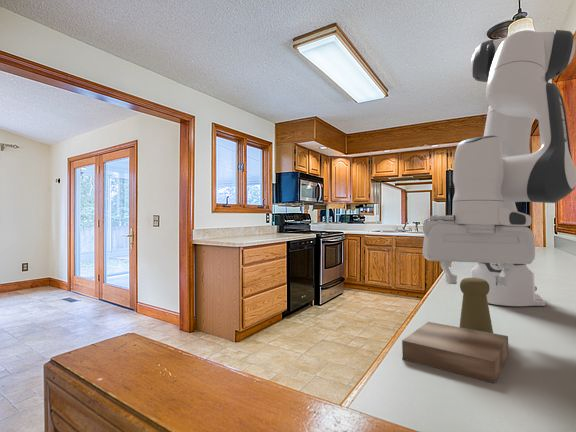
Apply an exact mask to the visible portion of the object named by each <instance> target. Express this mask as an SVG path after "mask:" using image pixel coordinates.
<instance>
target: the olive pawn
mask: <svg viewBox="0 0 576 432" xmlns="http://www.w3.org/2000/svg"><path fill="white" fill-rule="evenodd" d="M459 289H460V292H461V293H462V303H461V312H460V320H459V327H460V328H466V329H471V330H477V331H483V332H488V333H494V329H493V325H492V319H491V313H490V308H489V303H488V301H487V296H486V295H487V294H488V293H489V290H490V289H489V284H488V282H487V281H486V280H484V279H480V278H471V277H465V278H462V279H461V280H460V282H459Z"/></svg>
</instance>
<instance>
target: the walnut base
mask: <svg viewBox="0 0 576 432" xmlns="http://www.w3.org/2000/svg"><path fill="white" fill-rule="evenodd" d="M401 345H402V346H401V349H402V360H406V361H410V362H413V363H417V364H421V365H424V366H428V367H432V368H437V369H440V370H444V371H447V372H452V373H454V374H459V375H461V376H462V375H463V376H466V377H469V378H473V379H477V380H481V381H484V380H485V382H488V383H493V384H496V382H497V380H498V378H499V377H500V376H499V375H500V373H501V371H502V369H503V367H504V365H505V362H506V361H507V359H508V357H509V336H508V335H503V334H499V333H494V332H493V333H488V332H483V331H477V330H471V329H466V328H460V326H455V325H454V326H453V325H449V324H442V323H436V322H433V321H431V322H430V321H427V322H426V323H424V324H423V325H421V326H420V327H418V328H417V329H416V330H414V331H413V332H412V333H411V334H409V335H408V336H406V337H405V338H403V339H402V340H401Z"/></svg>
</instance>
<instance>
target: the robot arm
mask: <svg viewBox="0 0 576 432" xmlns="http://www.w3.org/2000/svg"><path fill="white" fill-rule="evenodd" d="M574 36H575V35H574V34H573V32H572V31H570V30H563V29H562V30H561V29H556V30H554V31H534V30H529V29H526V30H525V29H524V30H519V31H516V32H514V33H512V34H510V35H508V36H506V37H501V38H498V39H497V38H496V39H489V40H485V41H483V42H481V43H480V44H479V45H478V46H477V47H475V49H474V50H475V51H474V53H472V56H471V60H470V71H471V74H472V78H473V79H474V80H475V81H477V82H482V83H486V87H485V98H486V102H487V104H488V109H487V114H486V120H485V126H484V130H483V131H484V133H483V136H477V137H472V138H467V139H463V140H461V141H460V142H458V144H457V146H456V149H455V152H454V158H453V160H454V161H453V169H452V171H453V172H452V183H453V186H454V194H453V198H452V212H451V213H452V214H451V215H437V214H436V215H435V214H434V215H431V216H430V217H427V218H425V220H424V222H423V224H422V232H423V235H424V236H423V241H422V242H423V244H422V256H423V257H424V258H425V260H427V261H431V262H435V261H436V262H440V263H439V264H440V265H439V266H440V268H441V269H442V271H443V272H444V274H445V282H446V284H448V285H457V284H458V281H457V280H458V276H457V275H455V274H454V273H452V272H451V270H450V268H451V267H452V262H453V263H455V262H457V263H477V264H476V265H475V266H474V267H473V268H472V269H471V270H470V273H471V274H470V278H480V279H484V280H486V281H487V282H488V284H489V289H490V290H489V293H488V294H487V295H486V296H487V301H488V304H491V305H497V306H507V307H532V306H534V307H535V306H538V307H540V306H542V307H543V306H546V301H545V300H544V299H543V298H542V297H541V296H540V295H539V293H538V292H537V290H538V288H537V286H536V285H535V273H534V272H533V271H532V270H531V269H529V267H528V265H530V264H532V263H533V261H534V260H535V259H536V245H535V243H536V241H535V236H534V233H533V230H531V228H529V226H531V224H532V216H531V215H529V214H527V213H525V212H524V213H523V212H520V211H518V208H517V206H516V203H523V202H525V203H528V202H530V203H531V202H532V203H548V204H556V203H558V202H559V201H561V200H563V199H564V198H566V197H567V196H569V194H571V193H572V192H573V191H574V190H575V189H576V166H575V163H574V160H573V157H572V151H571V145H570V144H571V143H570V137H569V136H570V135H569V129H568V128H569V127H568V121H567V114H566V107H565V102H564V98H563V96H562V92H561V91H560V89H559V87H558V86H557V84H555V83H551V82H549V80H553V79H555V78H557V77H558V76H560V74H562V73H563V72H564V71H566V70H567V68H568V66H569V65H570V63H571V62H572V60H573V58H574V55H575V54H576V53H575V52H576V40H575V37H574ZM534 119H535V120H538V128H539V129H538V130H539V131H538V132H539V141H540V148H538V149H537V150H536V151H534V152H531V150H530V142H531V141H530V140H531V133H532V126H533V121H534Z"/></svg>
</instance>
